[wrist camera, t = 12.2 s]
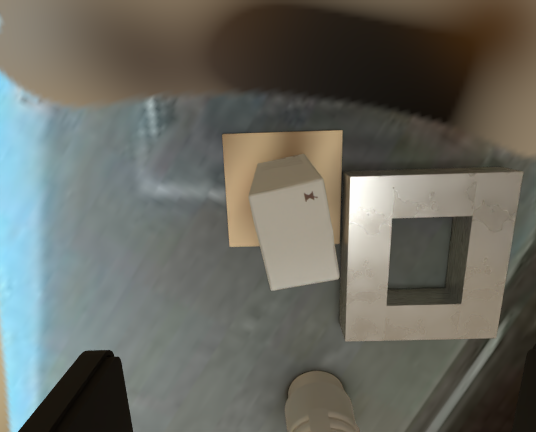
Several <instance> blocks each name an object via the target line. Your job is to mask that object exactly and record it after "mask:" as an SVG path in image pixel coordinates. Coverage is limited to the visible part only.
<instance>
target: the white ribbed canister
mask: <svg viewBox="0 0 536 432" xmlns="http://www.w3.org/2000/svg"><path fill="white" fill-rule="evenodd" d="M285 418H286V425H287V432H360V430H359V427H358V426H357V425H356V423H355V418H354V412H353V406H352V403H351V400H350V398H349V396H348V395H347V393H346V392H345V391H344V389H343V386H342V384H341V382H340V381H339V379H337V378H336V377H335V376H334V375H332V374H330V373H327V372H323V371H310V372H307V373H304V374H302V375H300V376H298V377H297V378H296V379H295V380H294V381H293V382H292V384H291V385H290V387H289V391H288V400H287V401H286V405H285Z"/></svg>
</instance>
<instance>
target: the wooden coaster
mask: <svg viewBox="0 0 536 432" xmlns="http://www.w3.org/2000/svg"><path fill="white" fill-rule="evenodd" d="M222 139H223V154H224V170H225V185H226V200H227V215H228V230H229V246H230V247H243V246H260V244H259V241H258V237H257V233H256V230H255V225H254V221H253V217H252V212H251V207H250V202H249V197H248V196H249V192H250V189H251V185H252V182H253V178H254V174H255V171H256V168H257V164H258V163H263V162H267V161H272V160H276V159H281V158H285V157H290V156H295V155H300V154H305V155H306V157H307V158H308V159H309V160H310V162H311V163H312V165H313V166H314V167H315V169H316V170H317V171H318V172H319V174H320V175H321V176H322V178H323V180H324V184H325V190H326V195H327V201H328V206H329V212H330V218H331V224H332V228H333V234H334V244H340V212H341V170H342V130H330V131H300V132H269V133H239V134H222Z"/></svg>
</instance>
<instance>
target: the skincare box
mask: <svg viewBox="0 0 536 432" xmlns="http://www.w3.org/2000/svg"><path fill="white" fill-rule="evenodd" d="M248 197H249V202H250V207H251V212H252V217H253V221H254V225H255V230H256V233H257V237H258V241H259V244H260V248H261V252H262V256H263V260H264V264H265V268H266V272H267V276H268V280H269V284H270V289H271V290H272V291H274V290H278V289H284V288H290V287H296V286H302V285H308V284H314V283H320V282H326V281H332V280H337V279H339V276H340V274H339V268H338V262H337V256H336V250H335V244H334V234H333V228H332V224H331V218H330V212H329V206H328V201H327V195H326V190H325V184H324V180H323V178H322V176H321V175H320V174H319V172H318V171H317V170H316V169H315V167H314V166H313V165H312V163H311V162H310V160H309V159H308V158H307V157H306V155H305V154H300V155H295V156H290V157H285V158H281V159H276V160H272V161H267V162H263V163H258V164H257V168H256V171H255V174H254V178H253V182H252V185H251V189H250V192H249V196H248Z"/></svg>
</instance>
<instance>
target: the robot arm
mask: <svg viewBox="0 0 536 432" xmlns="http://www.w3.org/2000/svg"><path fill="white" fill-rule="evenodd" d="M18 432H133V428H132V422H131V416H130V410H129V405H128V399H127V393H126V387H125V381H124V375H123V369H122V363H121V359H120V358H119V357H114V354H113V352H112V351H110V350H95V351H84V352H83V353H82V354H81V355H80V356H79V357H78V358H77V360H76V361H75V362H74V363H73V365H72V366H71V367H70V368H69V369H68V371H67V372H66V373H65V374H64V376H63V377H62V378H61V379H60V381H59V382H58V383H57V384H56V386H55V387H54V388H53V389H52V390H51V392H50V393H49V394H48V395H47V397H46V398H45V399H44V400H43V402H42V403H41V404H40V405H39V406H38V408H37V409H36V410H35V411H34V413H33V414H32V415H31V416H30V418H29V419H28V420H27V421H26V423H25V424H24V425H23V426H22V427H21V429H20V430H19V431H18ZM512 432H536V344H535V345H534V347H533V349H532V350H529V351H528V353H527V356H526V361H525V367H524V372H523V377H522V382H521V387H520V392H519V398H518V403H517V408H516V413H515V418H514V424H513V429H512Z"/></svg>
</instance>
